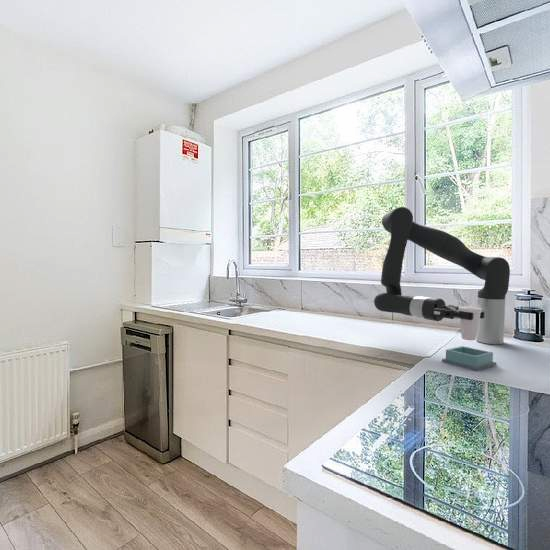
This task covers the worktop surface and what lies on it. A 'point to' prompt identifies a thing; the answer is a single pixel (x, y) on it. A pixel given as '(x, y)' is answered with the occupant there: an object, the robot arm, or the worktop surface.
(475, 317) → the smoothie
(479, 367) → the tray
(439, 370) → the worktop surface
